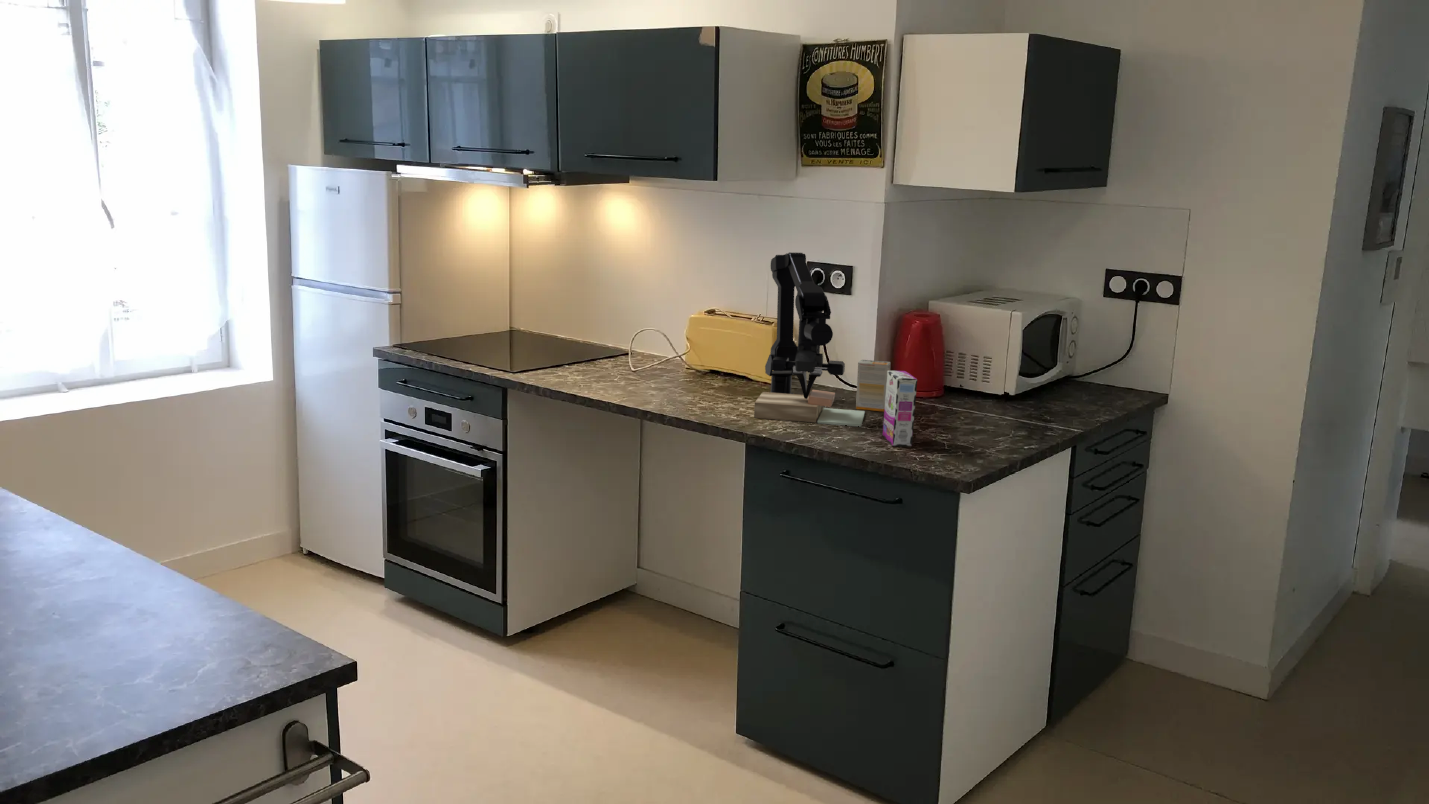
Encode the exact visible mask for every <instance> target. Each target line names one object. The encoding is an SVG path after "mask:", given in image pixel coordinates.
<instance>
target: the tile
mask: <svg viewBox="0 0 1429 804" xmlns="http://www.w3.org/2000/svg"><path fill="white" fill-rule="evenodd" d="M835 396H836V392H835V391H833V392H831V391H826V390H820V389H819V390H818V389H811V391H810V393H809V397H808V404H813V405H820V406H822V407H826V408H828V407H829V408H832V406H833V404H834V401H835V399H836V398H835Z"/></svg>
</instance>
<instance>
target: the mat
mask: <svg viewBox="0 0 1429 804" xmlns="http://www.w3.org/2000/svg"><path fill="white" fill-rule="evenodd" d="M865 413H866V410H858V409H856V410H853V409H840V408H831V407H829V408H828V407H826V408H825V407H823V408H822V410H821V413H820V415H819V417H818V419H817V424H819V425H821V424H823V425H831V426H832V425H833V426H845V425H847V426H848V427H858V426H859V427H860V428H861V427H862V426H863V425H862V424H863V420H864V418H865ZM847 426H846V427H847Z"/></svg>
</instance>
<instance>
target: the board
mask: <svg viewBox="0 0 1429 804" xmlns="http://www.w3.org/2000/svg"><path fill="white" fill-rule="evenodd" d="M808 397H809V396H808ZM822 407H823V406H820V405H813V404H808V398H807V399H805V398H804V395H803V394H795V393H793V394H784V393H771V391H770V392H769V391H768V392H767V391H762V392H761V394H760V395H759V396H758V397H757V399H756V400H755V401H754V407H753V408H754V410H753V411H754V412H753V418H754V419H756V418H757V419H767V420H769V419H770V420H781V421H790V422H791V421H793V422H803V423H804V422H805V423H807V422H808V423H817V422H818V419H819V417H820V415H821V413H822V410H823V408H822Z"/></svg>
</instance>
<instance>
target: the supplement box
mask: <svg viewBox="0 0 1429 804" xmlns="http://www.w3.org/2000/svg"><path fill="white" fill-rule="evenodd" d="M887 371H891V361H883V360H871V359H870V360H868V359H861V360H859V361H858V362H857V380H856V397H855V398H856V399H855V401H856V402H855V409H856V410H860V411H872V412H873V411H874V412H883V413H884V409H885V396H886V383H887Z"/></svg>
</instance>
